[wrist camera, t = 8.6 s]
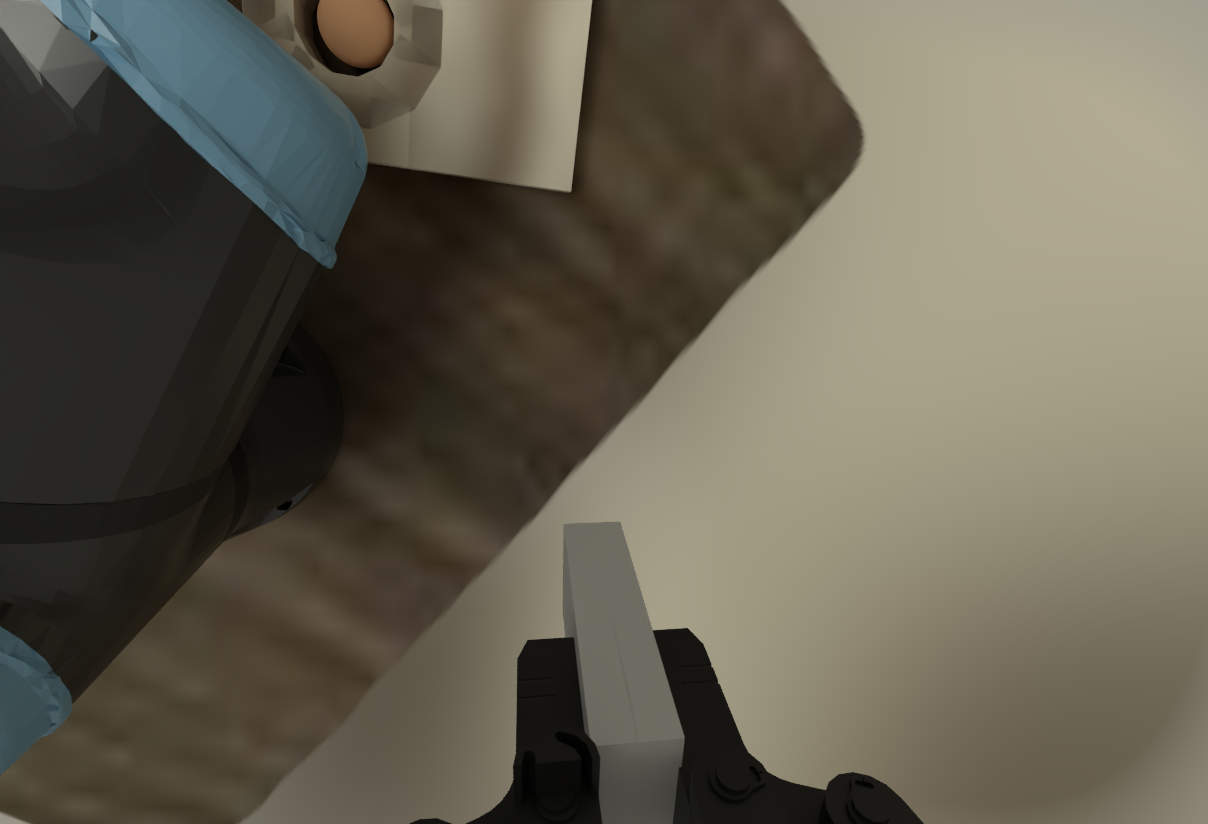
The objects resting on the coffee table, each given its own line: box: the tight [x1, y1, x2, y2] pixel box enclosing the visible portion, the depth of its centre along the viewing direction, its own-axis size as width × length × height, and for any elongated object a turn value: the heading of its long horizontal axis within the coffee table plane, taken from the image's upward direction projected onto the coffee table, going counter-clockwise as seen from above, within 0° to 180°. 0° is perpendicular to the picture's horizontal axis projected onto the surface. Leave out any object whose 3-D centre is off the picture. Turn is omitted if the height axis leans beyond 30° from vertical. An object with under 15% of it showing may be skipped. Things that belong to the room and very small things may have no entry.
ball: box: [317, 0, 394, 68], centre depth 28 cm, size 4×4×4 cm
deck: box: [242, 0, 592, 193], centre depth 29 cm, size 16×12×2 cm
